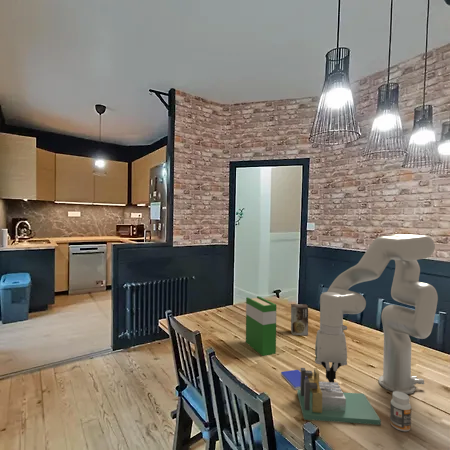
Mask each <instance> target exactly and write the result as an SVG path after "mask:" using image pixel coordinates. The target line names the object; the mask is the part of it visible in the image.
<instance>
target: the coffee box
mask: <svg viewBox="0 0 450 450" xmlns="http://www.w3.org/2000/svg"><path fill="white" fill-rule="evenodd" d="M290 308H291V309H290V313H291V314H290V322H291V323H290V332H291V335H292V336H308V335H309V307H308V305H307V304H302V303H291V305H290Z"/></svg>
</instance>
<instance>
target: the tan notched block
mask: <svg viewBox="0 0 450 450" xmlns="http://www.w3.org/2000/svg"><path fill="white" fill-rule="evenodd" d="M312 373H313V376H306V380H309V381H310V382H312V383H317V386H318V389H311V388H310V391H312V412H317V413H322V391H321V389H320V386H319V381H320V372H319V369H318V368H317V367H313V371H312Z"/></svg>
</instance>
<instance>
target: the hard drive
mask: <svg viewBox="0 0 450 450" xmlns="http://www.w3.org/2000/svg"><path fill="white" fill-rule="evenodd" d="M280 374H281V376H282V377H283V378H284V380H286V381H287V383H289V385H290V386H291V387H292V388H293V390H296V391H297V390H300V376H301V370H300V369H292V370H285V371H281V372H280Z"/></svg>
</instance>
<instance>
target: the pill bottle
mask: <svg viewBox="0 0 450 450" xmlns="http://www.w3.org/2000/svg"><path fill="white" fill-rule="evenodd" d="M389 407H390V410H389V411H390V412H389V413H390V415H389V416H390V425H391V426H392V427H393V428H394V429H396V430H397V431H401V432H409V431H410V430H411V429H412V405H411V403H410V396H409V394H405V393H403V392H399V391H395V392H392V398H391V399H390V406H389Z"/></svg>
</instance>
